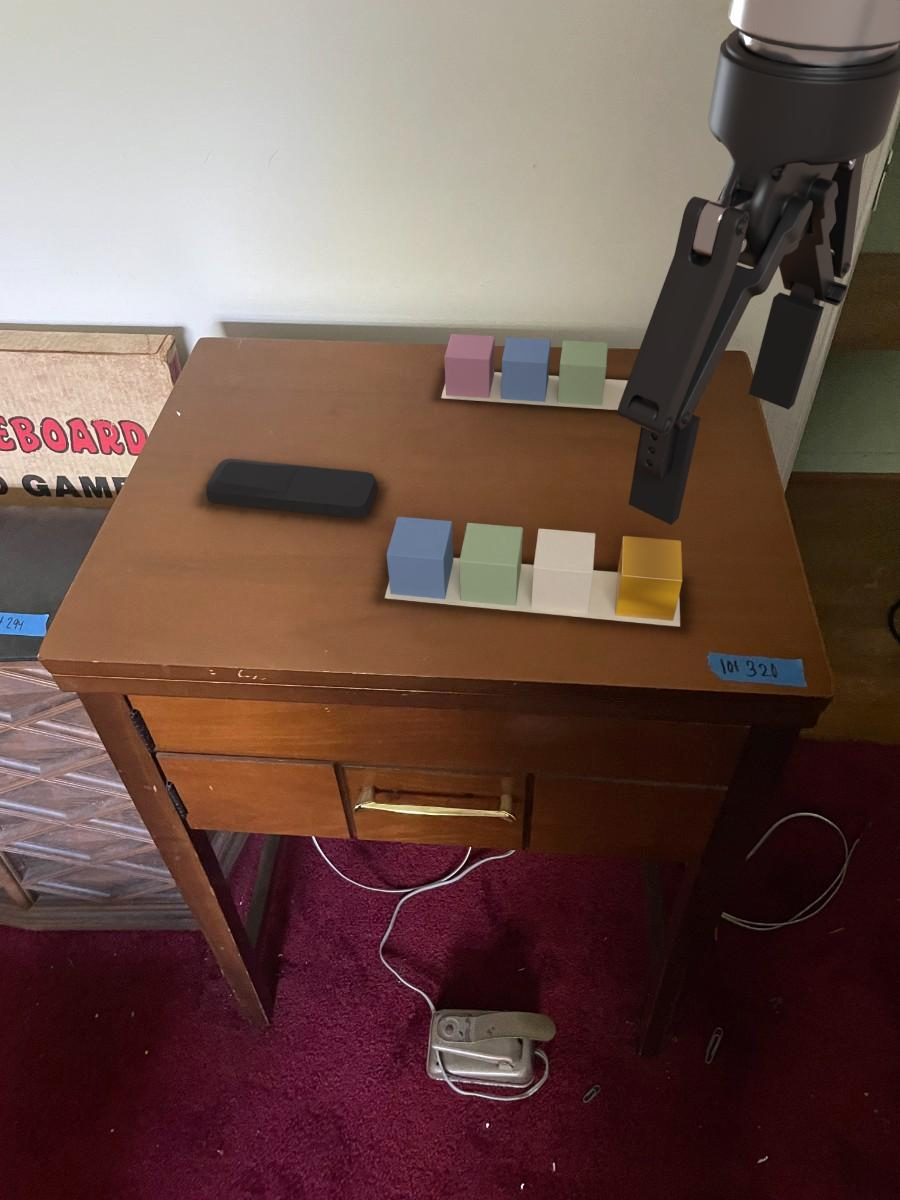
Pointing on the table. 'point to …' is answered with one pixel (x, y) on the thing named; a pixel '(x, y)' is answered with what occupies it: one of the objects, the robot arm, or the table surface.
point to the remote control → (292, 488)
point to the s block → (649, 578)
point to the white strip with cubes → (502, 571)
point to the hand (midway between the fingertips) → (716, 452)
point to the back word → (530, 373)
